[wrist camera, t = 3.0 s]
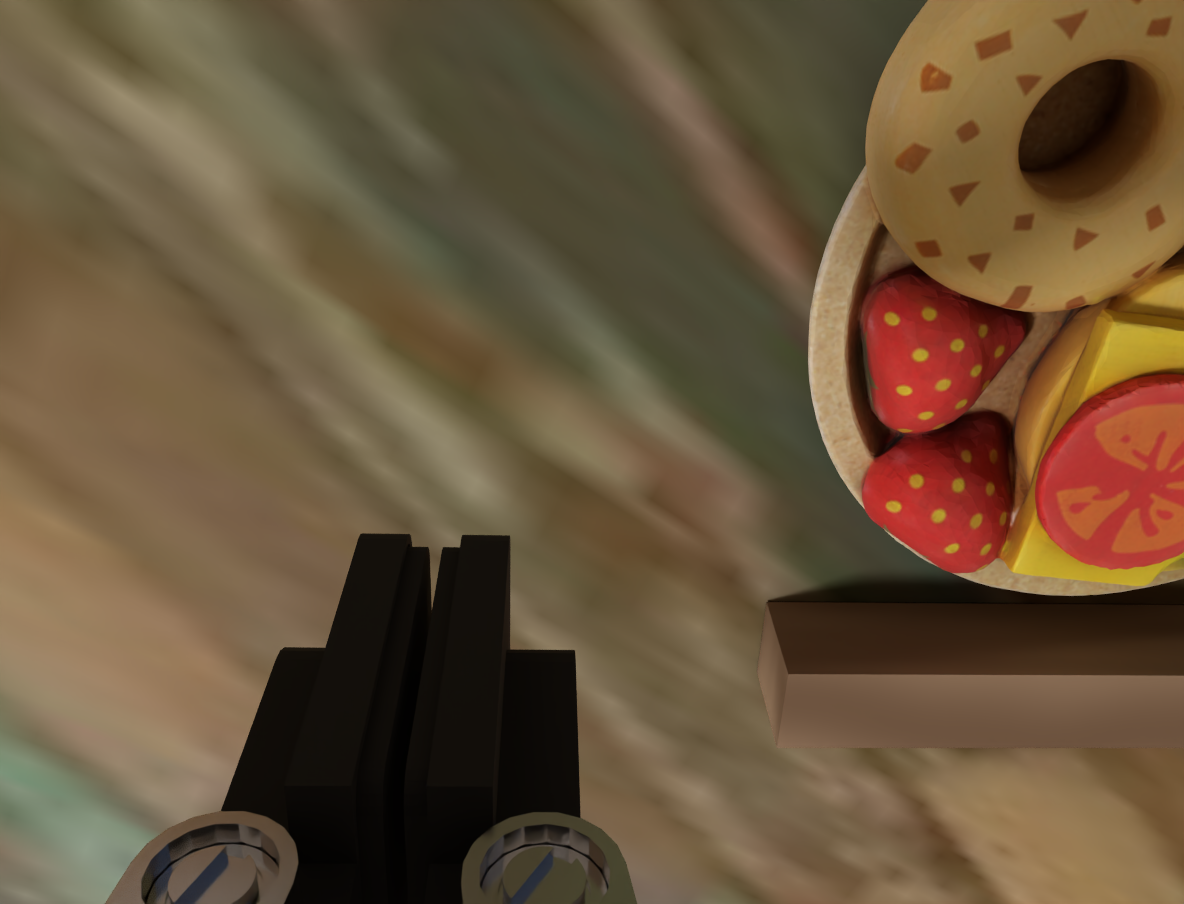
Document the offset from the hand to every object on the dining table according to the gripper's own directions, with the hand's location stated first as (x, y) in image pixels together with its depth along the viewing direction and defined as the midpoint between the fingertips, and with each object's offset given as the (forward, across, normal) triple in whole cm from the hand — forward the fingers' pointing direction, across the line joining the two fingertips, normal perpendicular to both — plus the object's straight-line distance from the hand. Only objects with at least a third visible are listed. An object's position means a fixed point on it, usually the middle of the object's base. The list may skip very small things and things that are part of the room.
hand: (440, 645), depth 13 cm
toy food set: (+11, -13, -1) cm, 17 cm away
